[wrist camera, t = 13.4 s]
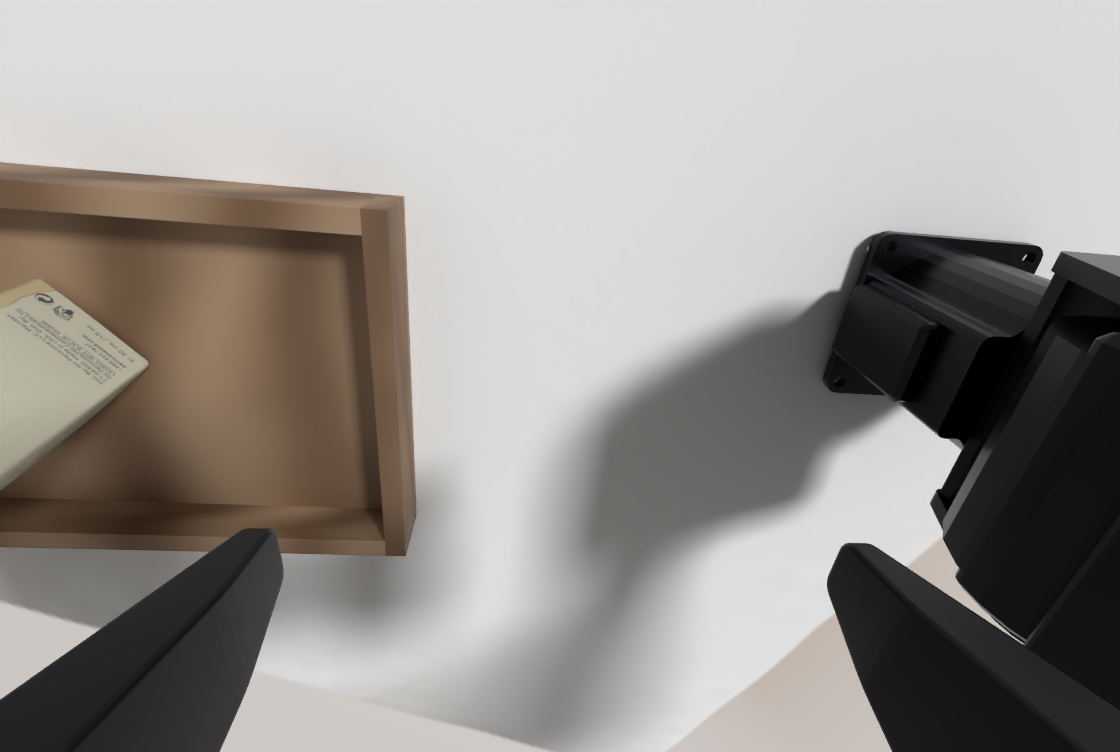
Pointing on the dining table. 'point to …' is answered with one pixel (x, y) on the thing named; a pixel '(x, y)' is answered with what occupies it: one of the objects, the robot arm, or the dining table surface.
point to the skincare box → (52, 372)
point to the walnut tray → (222, 363)
